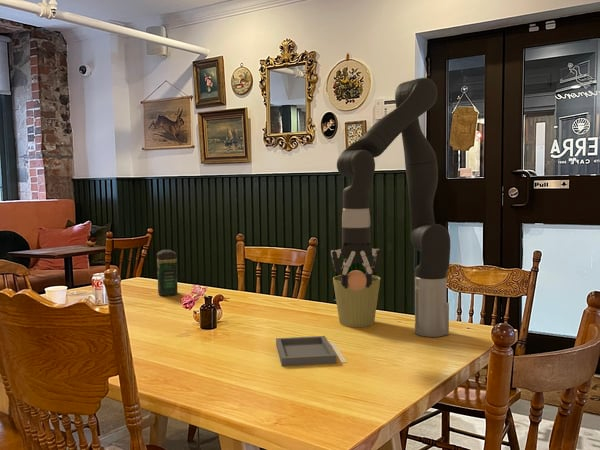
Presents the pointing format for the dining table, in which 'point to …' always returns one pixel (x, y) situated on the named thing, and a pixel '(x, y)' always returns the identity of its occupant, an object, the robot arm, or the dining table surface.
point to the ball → (356, 280)
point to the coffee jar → (167, 272)
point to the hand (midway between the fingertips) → (356, 287)
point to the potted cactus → (356, 300)
